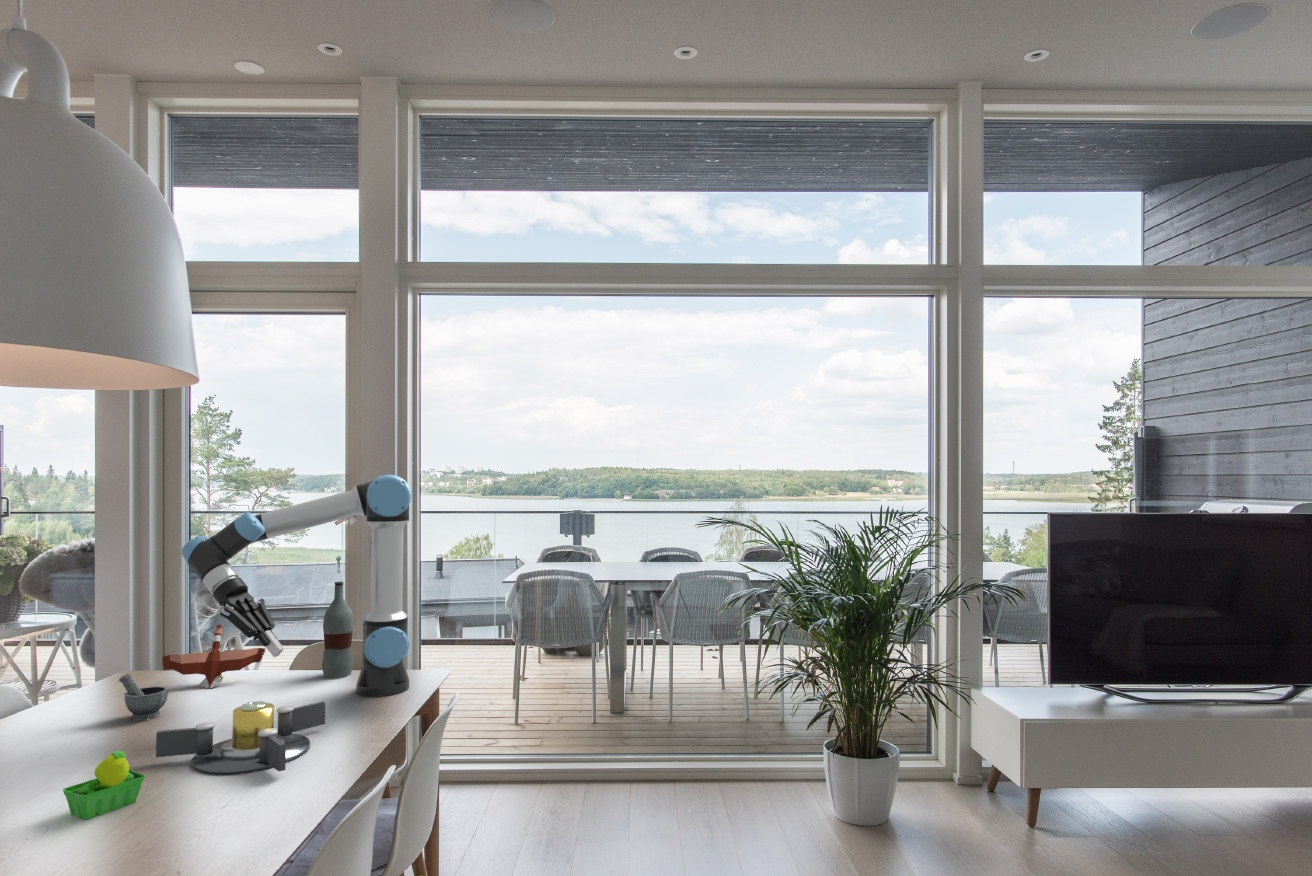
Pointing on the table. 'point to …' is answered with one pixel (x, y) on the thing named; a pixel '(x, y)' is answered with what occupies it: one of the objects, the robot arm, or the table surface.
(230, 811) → the table surface
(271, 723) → the tribrach
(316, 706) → the knob near arm
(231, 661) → the decorative bird
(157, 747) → the knob far
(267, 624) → the robot arm
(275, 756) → the knob left
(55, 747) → the table surface
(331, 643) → the bottle
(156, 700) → the mortar and pestle
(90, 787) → the fruit basket
